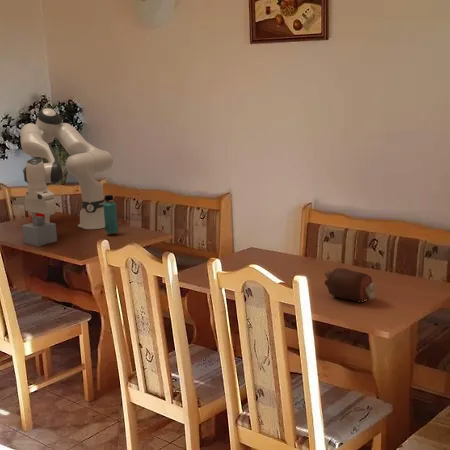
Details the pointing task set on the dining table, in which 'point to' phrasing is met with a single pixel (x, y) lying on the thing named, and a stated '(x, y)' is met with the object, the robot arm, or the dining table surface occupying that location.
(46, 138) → the robot arm
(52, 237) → the gray lidded box
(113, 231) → the beverage bottle
